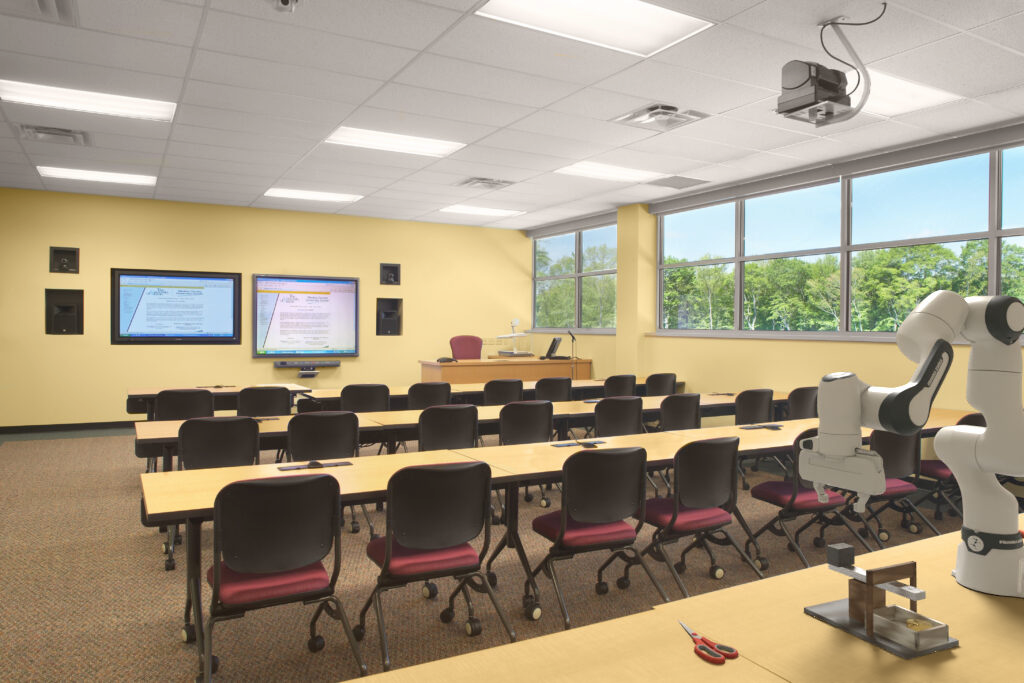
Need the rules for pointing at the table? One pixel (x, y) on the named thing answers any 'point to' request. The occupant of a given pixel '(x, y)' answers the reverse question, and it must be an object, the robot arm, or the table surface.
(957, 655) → the table surface
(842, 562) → the steel shaft
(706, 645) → the scissors
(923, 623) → the brass spacer
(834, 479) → the robot arm
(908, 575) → the shaft stand
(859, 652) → the table surface
